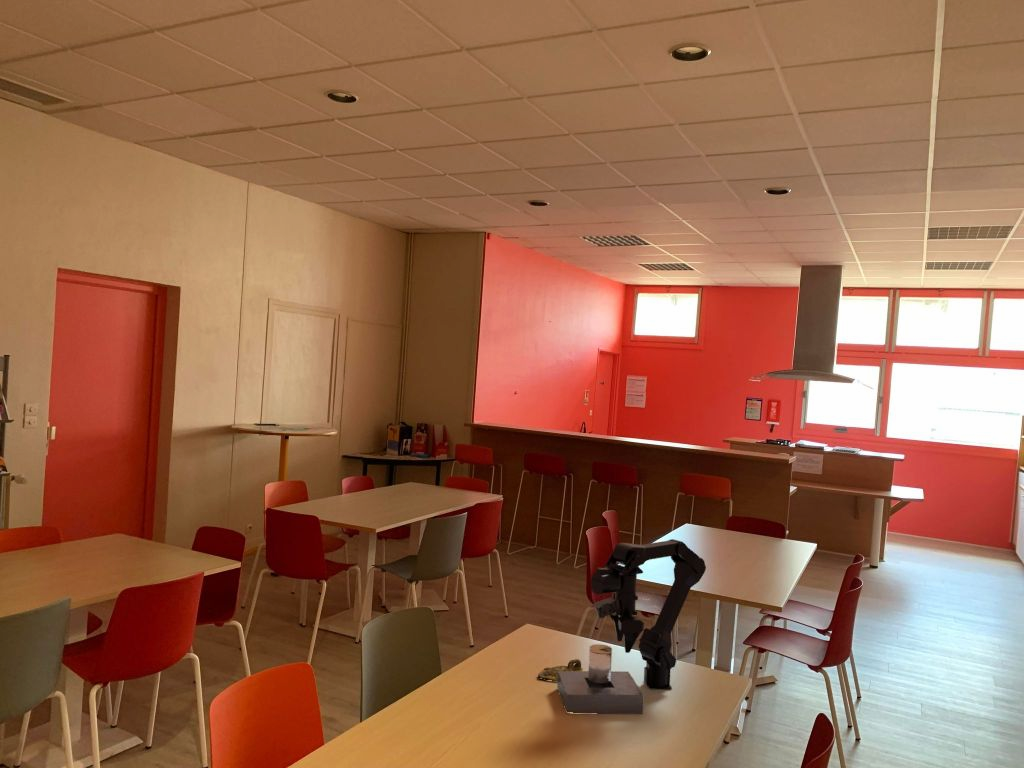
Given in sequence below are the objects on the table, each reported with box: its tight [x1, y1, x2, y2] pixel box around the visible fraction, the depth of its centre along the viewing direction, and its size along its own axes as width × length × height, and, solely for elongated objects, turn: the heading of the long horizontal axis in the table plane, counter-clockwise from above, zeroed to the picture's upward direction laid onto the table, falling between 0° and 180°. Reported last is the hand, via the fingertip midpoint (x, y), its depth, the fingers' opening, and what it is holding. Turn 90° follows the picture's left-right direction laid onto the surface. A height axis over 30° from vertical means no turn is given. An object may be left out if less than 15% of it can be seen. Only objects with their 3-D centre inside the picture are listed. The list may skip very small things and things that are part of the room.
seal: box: [537, 658, 584, 681], centre depth 219 cm, size 9×5×15 cm
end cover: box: [588, 643, 613, 683], centre depth 202 cm, size 6×6×8 cm
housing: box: [556, 670, 644, 715], centre depth 202 cm, size 20×16×5 cm
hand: (623, 646), depth 208 cm, fingers open, 9 cm apart
